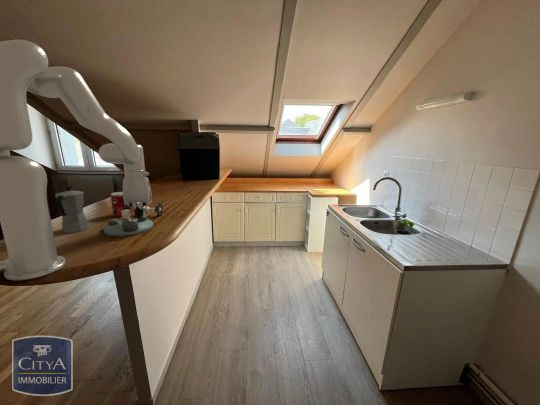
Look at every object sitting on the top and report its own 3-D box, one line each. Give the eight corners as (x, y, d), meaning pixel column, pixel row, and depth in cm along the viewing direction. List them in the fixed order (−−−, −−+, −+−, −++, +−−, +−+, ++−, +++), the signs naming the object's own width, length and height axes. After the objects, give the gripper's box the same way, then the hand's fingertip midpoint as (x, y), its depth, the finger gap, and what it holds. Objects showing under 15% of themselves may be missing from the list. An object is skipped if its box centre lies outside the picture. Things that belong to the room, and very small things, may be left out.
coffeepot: (70, 224, 106) (63, 183, 102) (95, 223, 108) (89, 183, 104) (49, 237, 92) (40, 190, 87) (78, 236, 94) (70, 190, 90)
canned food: (114, 213, 124) (111, 192, 121) (132, 212, 127) (130, 191, 124) (112, 217, 117) (109, 195, 114) (131, 216, 120) (128, 194, 118)
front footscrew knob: (139, 229, 97) (138, 215, 96) (123, 232, 94) (122, 218, 92) (133, 221, 107) (132, 208, 105) (119, 223, 103) (117, 210, 102)
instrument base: (104, 239, 91) (103, 230, 90) (103, 225, 105) (102, 218, 105) (156, 231, 101) (155, 223, 100) (149, 219, 115) (148, 212, 114)
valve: (133, 217, 119) (158, 217, 119) (132, 204, 117) (157, 204, 117) (140, 213, 125) (164, 214, 125) (139, 200, 124) (163, 201, 124)
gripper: (156, 173, 106) (160, 214, 110) (118, 173, 103) (123, 215, 107) (152, 176, 99) (156, 219, 103) (111, 176, 96) (117, 220, 100)
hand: (139, 217), depth 105 cm, fingers closed
